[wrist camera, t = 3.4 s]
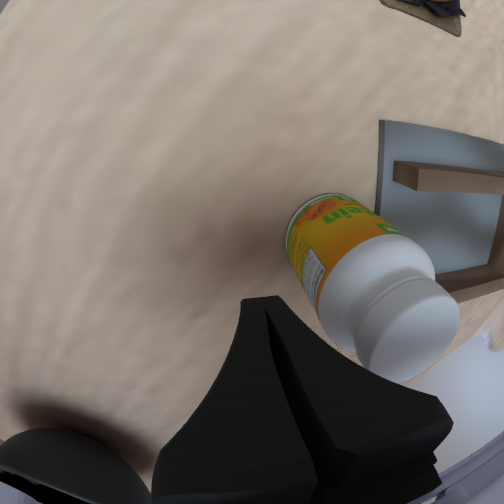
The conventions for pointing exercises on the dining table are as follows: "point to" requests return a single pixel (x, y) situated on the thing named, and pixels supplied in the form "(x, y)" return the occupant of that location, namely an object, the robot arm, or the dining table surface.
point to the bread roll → (432, 12)
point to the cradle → (446, 202)
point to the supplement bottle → (371, 287)
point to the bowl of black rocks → (68, 469)
